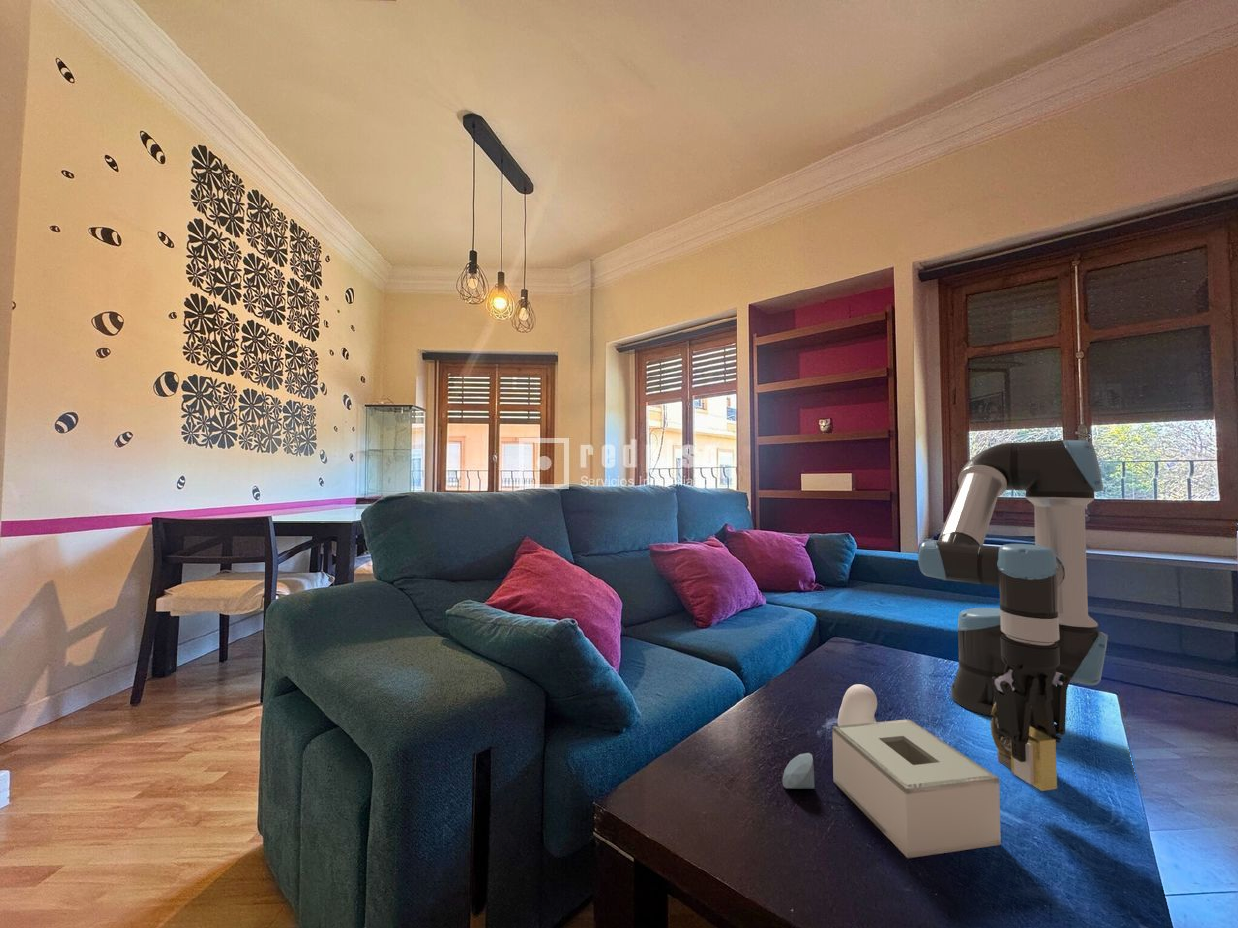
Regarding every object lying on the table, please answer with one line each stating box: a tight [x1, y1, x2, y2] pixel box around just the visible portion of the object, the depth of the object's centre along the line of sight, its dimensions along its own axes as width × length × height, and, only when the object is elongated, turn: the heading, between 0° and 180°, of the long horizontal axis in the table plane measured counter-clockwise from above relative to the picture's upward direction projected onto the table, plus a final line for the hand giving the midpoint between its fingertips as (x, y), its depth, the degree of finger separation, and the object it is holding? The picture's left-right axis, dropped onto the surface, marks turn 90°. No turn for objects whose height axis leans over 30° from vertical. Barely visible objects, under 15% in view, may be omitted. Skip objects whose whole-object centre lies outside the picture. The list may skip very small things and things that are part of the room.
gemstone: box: [782, 752, 815, 790], centre depth 86 cm, size 8×8×5 cm
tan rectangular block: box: [1010, 726, 1058, 792], centre depth 80 cm, size 3×5×8 cm, turn 9°
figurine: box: [837, 683, 878, 726], centre depth 101 cm, size 7×8×12 cm
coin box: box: [832, 718, 1002, 859], centre depth 80 cm, size 16×18×10 cm
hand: (1033, 777), depth 80 cm, fingers closed on tan rectangular block, 3 cm apart
